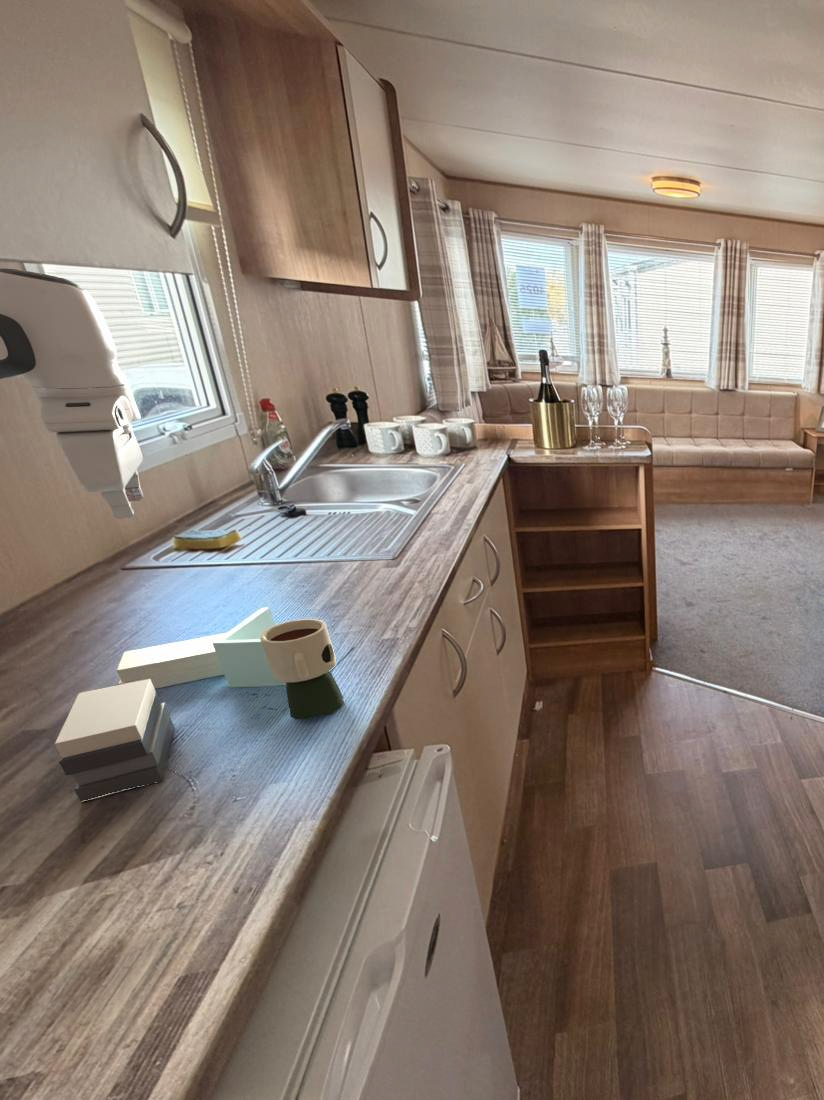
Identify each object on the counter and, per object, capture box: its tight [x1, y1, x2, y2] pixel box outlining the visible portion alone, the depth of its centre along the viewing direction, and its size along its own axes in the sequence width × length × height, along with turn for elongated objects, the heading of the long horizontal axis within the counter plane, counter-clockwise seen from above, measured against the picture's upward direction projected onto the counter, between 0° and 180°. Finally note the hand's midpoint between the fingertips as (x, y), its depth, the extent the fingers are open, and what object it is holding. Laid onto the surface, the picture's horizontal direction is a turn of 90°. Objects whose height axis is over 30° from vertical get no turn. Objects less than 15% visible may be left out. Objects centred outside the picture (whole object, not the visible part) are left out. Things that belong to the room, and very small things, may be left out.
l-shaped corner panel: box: [212, 606, 286, 689], centre depth 99 cm, size 12×12×8 cm
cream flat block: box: [54, 679, 157, 758], centre depth 76 cm, size 12×6×2 cm, turn 37°
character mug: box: [260, 618, 345, 720], centre depth 87 cm, size 11×7×13 cm, turn 37°
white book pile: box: [116, 632, 227, 690], centre depth 96 cm, size 12×7×4 cm, turn 127°
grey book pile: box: [58, 691, 176, 802], centre depth 77 cm, size 13×7×6 cm, turn 37°
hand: (130, 508), depth 90 cm, fingers open, 8 cm apart
